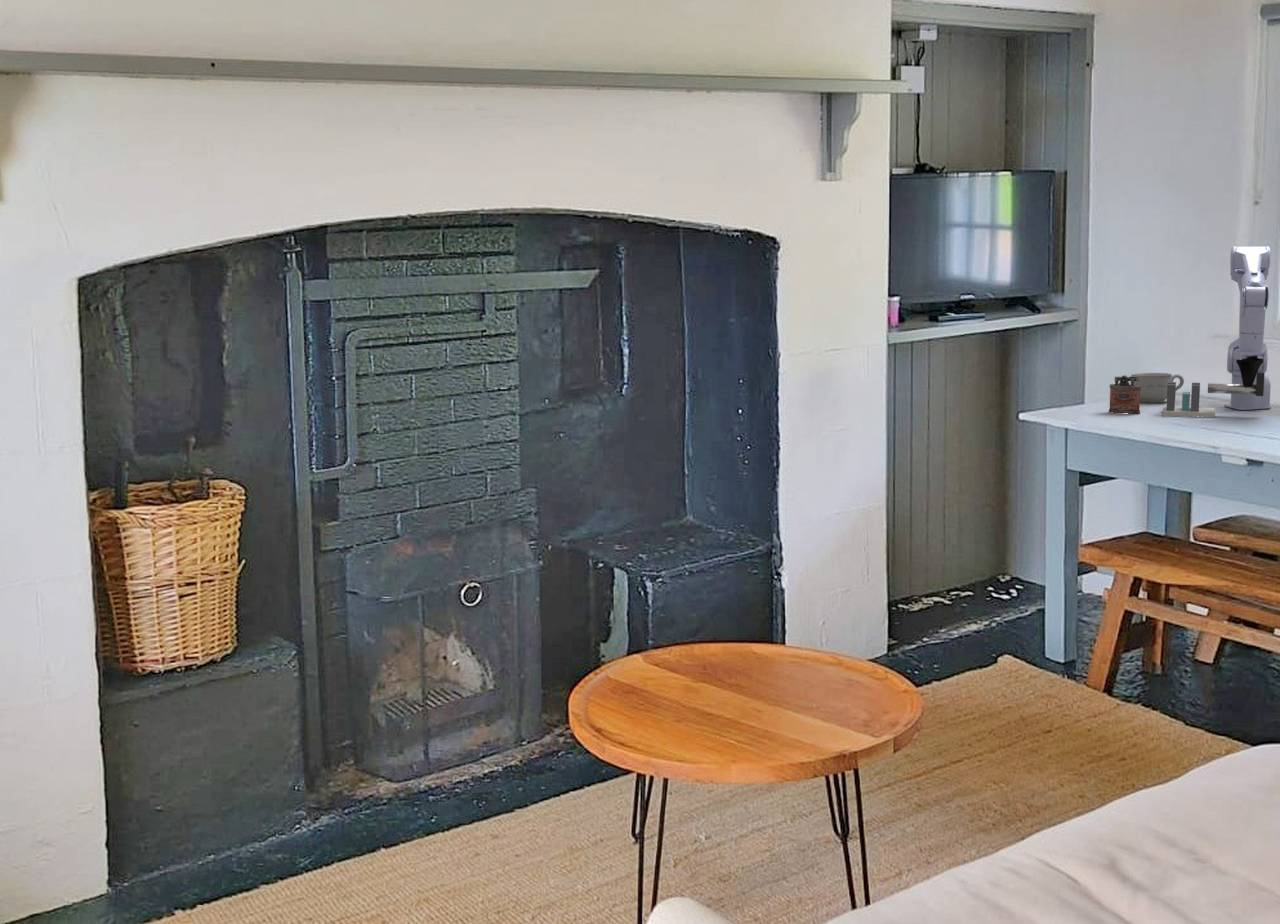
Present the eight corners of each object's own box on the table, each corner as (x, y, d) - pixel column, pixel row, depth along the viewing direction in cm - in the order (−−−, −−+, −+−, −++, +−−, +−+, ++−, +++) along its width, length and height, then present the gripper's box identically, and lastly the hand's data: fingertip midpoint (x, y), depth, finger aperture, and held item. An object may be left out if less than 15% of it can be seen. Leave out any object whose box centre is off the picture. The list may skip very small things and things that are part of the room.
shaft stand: (1214, 412, 413) (1216, 382, 411) (1214, 417, 404) (1216, 386, 403) (1162, 410, 417) (1164, 381, 415) (1162, 415, 409) (1163, 385, 407)
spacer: (1189, 408, 412) (1190, 391, 412) (1189, 410, 408) (1189, 394, 407) (1182, 408, 413) (1182, 391, 412) (1181, 410, 409) (1182, 393, 408)
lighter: (1107, 413, 415) (1108, 375, 413) (1110, 411, 418) (1111, 374, 416) (1138, 414, 411) (1140, 377, 409) (1141, 413, 414) (1142, 375, 412)
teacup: (1130, 404, 430) (1131, 375, 428) (1130, 398, 440) (1131, 370, 438) (1183, 405, 426) (1185, 376, 424) (1182, 399, 436) (1183, 371, 434)
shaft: (1262, 394, 405) (1264, 371, 404) (1263, 396, 402) (1264, 373, 401) (1207, 393, 409) (1208, 370, 408) (1207, 394, 407) (1208, 371, 406)
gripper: (1250, 330, 409) (1246, 382, 412) (1223, 333, 400) (1219, 386, 402) (1276, 332, 404) (1272, 385, 407) (1250, 335, 394) (1246, 389, 397)
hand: (1247, 385), depth 404 cm, fingers closed, pressing on shaft
